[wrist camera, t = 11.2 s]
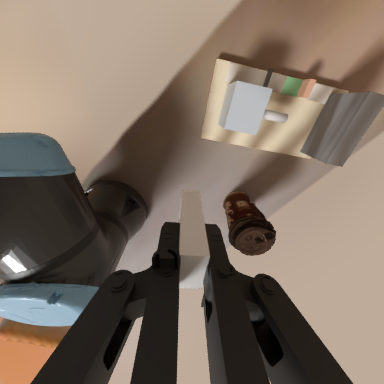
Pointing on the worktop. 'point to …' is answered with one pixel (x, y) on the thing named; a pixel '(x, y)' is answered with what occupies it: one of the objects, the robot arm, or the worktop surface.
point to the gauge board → (295, 116)
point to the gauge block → (248, 107)
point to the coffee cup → (247, 225)
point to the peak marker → (306, 88)
